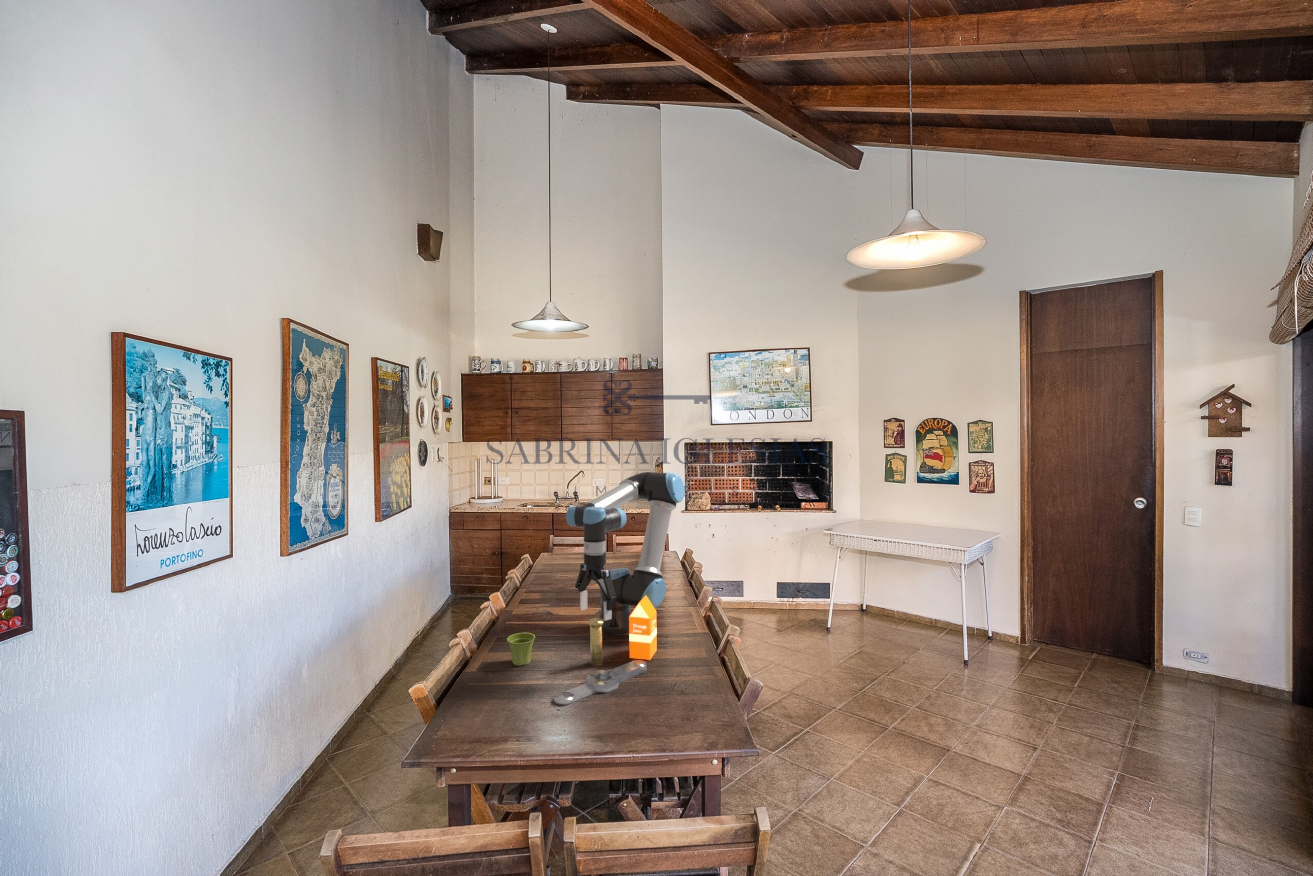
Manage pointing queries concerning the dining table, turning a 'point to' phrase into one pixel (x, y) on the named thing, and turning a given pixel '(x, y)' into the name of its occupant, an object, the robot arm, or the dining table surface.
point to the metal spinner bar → (601, 682)
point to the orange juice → (643, 630)
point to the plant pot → (521, 647)
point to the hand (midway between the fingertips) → (595, 614)
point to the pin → (596, 640)
